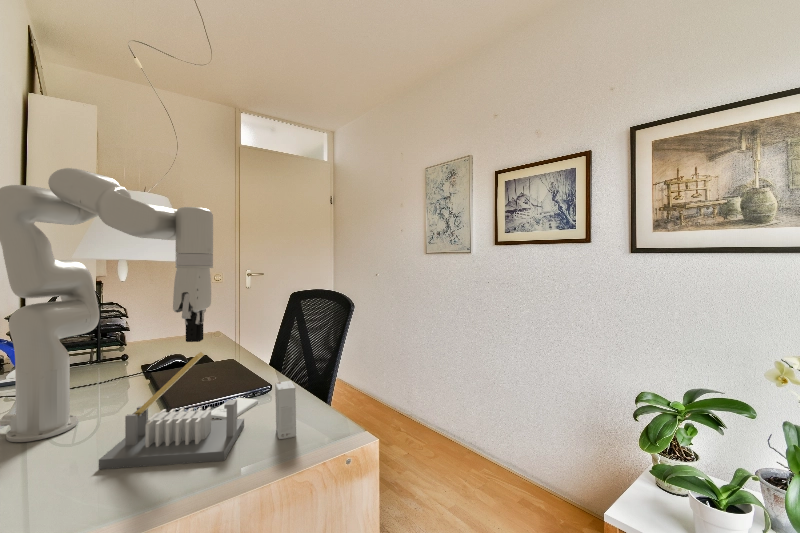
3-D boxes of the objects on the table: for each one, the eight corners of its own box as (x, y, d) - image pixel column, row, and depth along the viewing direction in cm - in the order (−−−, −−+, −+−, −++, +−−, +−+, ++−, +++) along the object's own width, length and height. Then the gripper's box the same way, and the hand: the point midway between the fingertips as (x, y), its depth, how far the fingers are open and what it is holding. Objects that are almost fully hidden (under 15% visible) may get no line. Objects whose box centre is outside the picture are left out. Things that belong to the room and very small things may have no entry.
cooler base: (98, 469, 73) (98, 423, 73) (141, 432, 89) (141, 393, 89) (224, 460, 77) (224, 416, 77) (244, 426, 93) (244, 389, 93)
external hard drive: (258, 404, 108) (230, 422, 96) (234, 402, 110) (204, 419, 98) (258, 399, 108) (230, 416, 96) (234, 396, 110) (204, 413, 98)
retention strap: (133, 422, 80) (127, 417, 80) (140, 416, 83) (135, 412, 83) (200, 359, 82) (195, 354, 82) (205, 355, 85) (200, 350, 85)
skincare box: (296, 436, 88) (297, 387, 88) (277, 440, 86) (278, 390, 86) (292, 426, 93) (293, 379, 93) (274, 429, 91) (274, 382, 91)
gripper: (190, 261, 90) (190, 334, 90) (160, 261, 75) (160, 349, 75) (222, 261, 91) (222, 334, 91) (199, 262, 76) (199, 348, 76)
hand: (194, 340), depth 83 cm, fingers closed
